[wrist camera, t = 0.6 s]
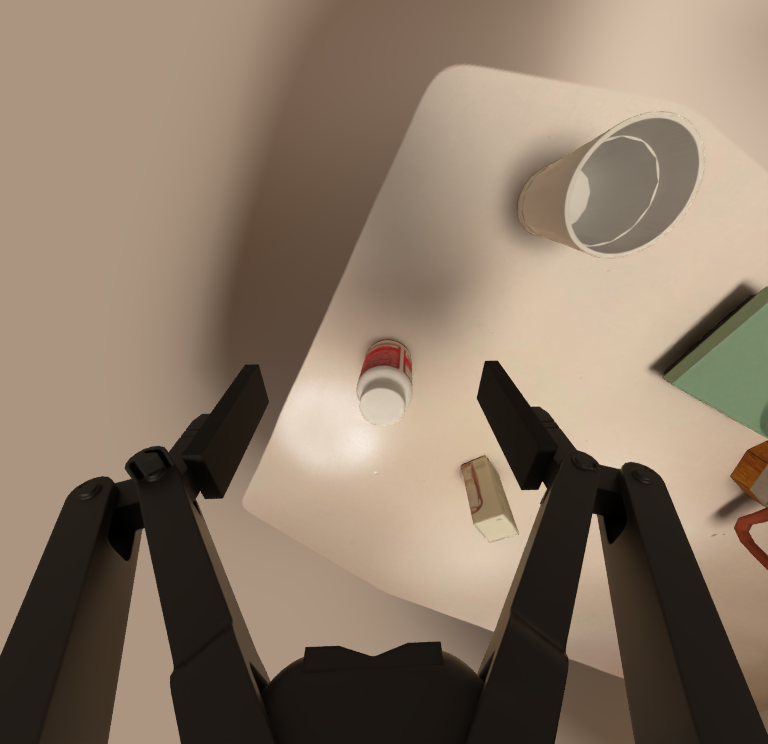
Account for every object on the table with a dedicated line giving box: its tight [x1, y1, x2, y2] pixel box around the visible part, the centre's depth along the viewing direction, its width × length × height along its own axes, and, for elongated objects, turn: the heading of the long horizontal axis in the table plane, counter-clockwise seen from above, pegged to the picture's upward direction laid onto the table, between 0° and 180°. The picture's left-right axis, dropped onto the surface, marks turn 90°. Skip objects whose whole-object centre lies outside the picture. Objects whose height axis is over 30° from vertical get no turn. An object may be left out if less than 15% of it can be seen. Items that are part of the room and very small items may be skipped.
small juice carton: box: [461, 456, 519, 543], centre depth 42 cm, size 5×4×10 cm
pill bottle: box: [357, 340, 413, 426], centre depth 34 cm, size 6×6×11 cm
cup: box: [518, 111, 705, 258], centre depth 24 cm, size 8×8×12 cm
